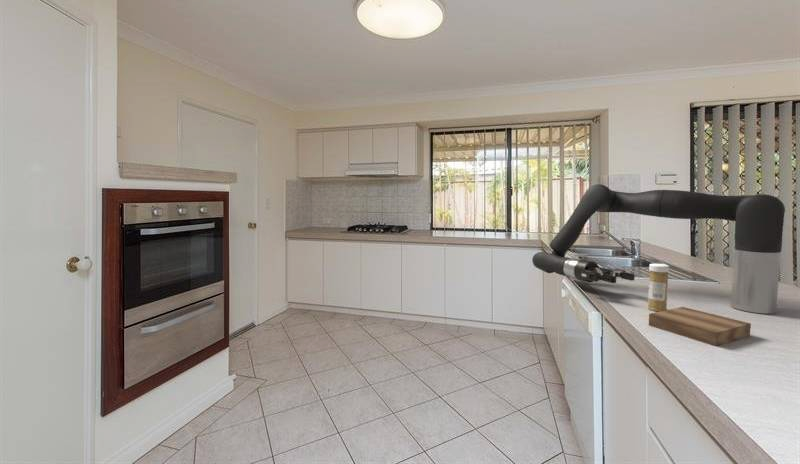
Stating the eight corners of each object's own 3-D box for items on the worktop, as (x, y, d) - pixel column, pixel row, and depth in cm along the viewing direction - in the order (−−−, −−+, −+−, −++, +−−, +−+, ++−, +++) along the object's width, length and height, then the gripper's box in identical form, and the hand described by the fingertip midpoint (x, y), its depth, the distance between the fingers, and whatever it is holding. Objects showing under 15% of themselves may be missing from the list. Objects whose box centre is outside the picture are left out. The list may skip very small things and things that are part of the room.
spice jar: (669, 310, 99) (671, 264, 98) (662, 313, 97) (665, 266, 96) (651, 306, 103) (653, 262, 102) (644, 309, 101) (646, 264, 99)
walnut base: (681, 317, 93) (682, 306, 93) (749, 335, 80) (750, 323, 80) (648, 325, 88) (649, 313, 88) (715, 346, 75) (716, 332, 75)
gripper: (566, 260, 120) (609, 269, 105) (595, 257, 126) (640, 265, 111) (565, 281, 121) (608, 292, 106) (594, 277, 126) (639, 287, 111)
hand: (624, 278), depth 108 cm, fingers open, 8 cm apart
